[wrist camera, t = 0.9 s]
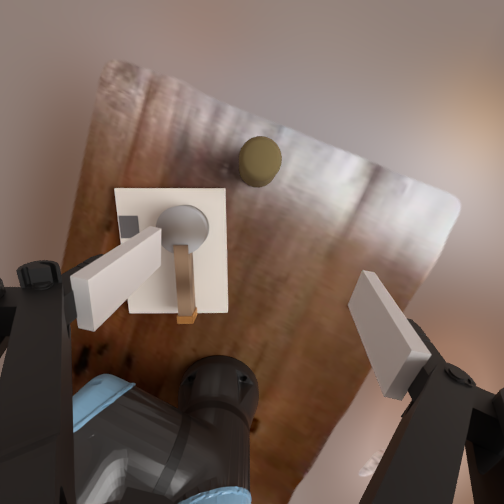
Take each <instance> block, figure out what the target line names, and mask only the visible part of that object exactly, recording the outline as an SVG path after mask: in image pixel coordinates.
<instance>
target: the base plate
mask: <svg viewBox="0 0 504 504" xmlns="http://www.w3.org/2000/svg"><path fill="white" fill-rule="evenodd" d="M114 191H115V200H116V208H117V216H118V224H119V232H120V241H121V244H122V243H124V242H125V241H127V240H129V239H130V238H132V237H133V236H135V235H137V234H138V233H140V232H141V231H143V230H145V229H146V228H148V227H149V226H152V227H156V222H157V220H158V218H159V216H160V215H161V213H162V212H164V211H165V210H166V209H168V208H171V207H174V206H180V205H191V206H194V207H196V208H198V209H200V210H201V211H202V212H203V213H204V214H205V216H206V217H207V219H208V222H209V234H208V237H207V239H206V240H205V242H204V243H203V244H202V245H201V246H200V247H199V248H198V249H197V250H196V251H194V252H193V268H194V286H195V304H196V307H197V313H228V279H227V235H226V191H225V188H114ZM128 306H129V313H178V304H177V290H176V277H175V263H174V253H171V252H169V251H168V250H166V249H165V248H164V247H163V246H162V245H161V266H160V267H159V268H158V269H157V270H156V271H155V272H154V273H153V274H152V275H151V276H150V277H149V278H148V279H147V280H146V281H145V282H144V283H143V284H142V285H141V286H140V287H139V288H138V289H137V290H136V291H135V292H134V293H133V294H132V295H131V296H130V297H129V298H128Z"/></svg>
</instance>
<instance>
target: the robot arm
mask: <svg viewBox="0 0 504 504" xmlns="http://www.w3.org/2000/svg"><path fill="white" fill-rule="evenodd" d="M160 266H161V228H157V227H152V226H149V227H148V228H146V229H145V230H143V231H141V232H140V233H138V234H137V235H135V236H133V237H132V238H130V239H129V240H127V241H125V242H124V243H122V244H121V245H119V246H117V247H116V248H114V249H113V250H111V251H109V252H108V253H106V254H105V255H103V254H100V255H97V256H93V257H90V258H89V259H87V260H85V261H84V262H83V263H80V264H79V265H77V266H76V267H74V268H72V269H70V270H69V271H67V272H65V273H63V274H62V275H61V272H60V267H59V264H58V263H56V262H54V261H48V260H46V261H45V260H43V261H34V262H30V263H27V264H24V265H22V266H20V267H19V268H18V269H17V275H18V279H19V282H20V286H21V287H4V285H3V281H2V280H1V279H0V358H1V356H2V354H3V353H4V351H5V350H6V348H7V352H6V356H5V360H4V364H3V368H2V373H1V377H0V504H251V495H250V438H249V428H250V426H251V423H252V420H253V417H254V414H255V412H256V409H257V406H258V400H259V391H258V382H257V379H256V377H255V375H254V373H253V372H252V370H251V369H250V368H249V367H248V366H247V365H245V364H244V363H242V362H241V361H239V360H237V359H234V358H231V357H227V356H211V357H206V358H203V359H201V360H199V361H197V362H195V363H194V364H193V365H191V366H190V367H189V368H188V370H187V371H186V372H185V374H184V376H183V378H182V381H181V384H180V387H179V391H178V409H177V408H176V407H174V406H172V405H170V404H168V403H166V402H164V401H163V400H161V399H159V398H157V397H155V396H153V395H151V394H149V393H148V392H146V391H144V390H142V389H140V388H138V387H136V386H135V385H136V384H135V383H129V382H127V381H125V380H123V379H121V378H118V377H116V376H114V375H112V374H102V375H99V376H97V377H95V378H93V379H92V380H91V381H89V382H88V383H87V384H86V385H85V386H83V387H82V388H81V389H80V390H79V391H78V392H77V393H76V394H75V395H74V396H73V397H72V359H71V328H70V323H71V322H72V321H73V320H75V319H76V318H77V323H78V328H81V329H85V330H90V331H95V330H96V329H97V328H98V327H99V326H100V325H101V324H102V323H103V322H104V321H105V320H106V319H107V318H108V317H110V316H111V315H112V314H113V313H114V312H115V311H116V310H117V309H118V308H119V307H120V306H121V305H122V304H123V303H124V302H125V301H126V300H127V299H128V298H129V297H130V296H131V295H132V294H133V293H134V292H135V291H136V290H137V289H138V288H139V287H140V286H141V285H142V284H143V283H144V282H145V281H146V280H147V279H148V278H149V277H150V276H151V275H152V274H153V273H154V272H155V271H156V270H157V269H158V268H159V267H160ZM348 307H349V309H350V312H351V314H352V317H353V319H354V322H355V324H356V327H357V330H358V332H359V335H360V337H361V340H362V342H363V345H364V347H365V350H366V353H367V355H368V358H369V360H370V363H371V365H372V368H373V370H374V373H375V375H376V378H377V381H378V383H379V386H380V388H381V391H382V393H383V396H384V397H388V398H392V399H397V400H402V399H403V398H404V396H405V394H406V393H407V391H408V392H409V394H410V396H411V398H412V401H411V402H410V404H409V406H408V407H407V408H406V410H405V411H404V413H403V414H402V416H401V417H402V419H401V422H400V423H399V425H398V427H397V429H396V431H395V433H394V435H393V437H392V439H391V441H390V443H389V445H388V447H387V449H386V451H385V453H384V455H383V457H382V459H381V461H380V463H379V465H378V467H377V469H376V470H375V472H374V474H373V476H372V479H371V480H370V482H369V484H368V486H367V488H366V490H365V492H364V494H363V496H362V498H361V500H360V502H359V504H452V503H453V498H454V494H455V489H456V484H457V479H458V475H459V470H460V465H461V460H462V456H463V451H464V446H465V449H466V455H467V461H468V467H469V474H470V480H471V486H472V492H473V499H474V504H504V388H503V389H501V390H500V391H499V392H498V393H497V394H496V395H495V394H493V393H490V392H488V391H485V390H483V389H481V388H479V387H476V384H475V382H474V381H473V379H472V378H471V377H470V376H469V375H468V374H467V373H466V372H464V371H462V370H461V369H460V368H458V367H456V366H454V365H452V364H450V363H446V361H445V360H444V359H443V357H442V356H441V355H440V353H439V352H438V351H437V349H436V348H435V346H434V345H433V344H432V343H431V342H430V340H429V338H428V337H427V336H426V334H425V333H424V332H423V330H422V329H421V327H419V326H418V325H417V324H416V323H415V322H414V321H413V320H411V319H407V318H406V317H405V316H404V314H403V313H402V311H401V310H400V308H399V307H398V306H397V304H396V303H395V301H394V300H393V298H392V297H391V295H390V294H389V293H388V291H387V290H386V288H385V287H384V285H383V284H382V283H381V281H380V280H379V278H378V277H377V275H376V274H375V272H370V271H365V270H362V272H361V275H360V277H359V279H358V282H357V284H356V287H355V289H354V292H353V294H352V296H351V299H350V301H349V304H348Z"/></svg>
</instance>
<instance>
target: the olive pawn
mask: <svg viewBox="0 0 504 504" xmlns="http://www.w3.org/2000/svg"><path fill="white" fill-rule="evenodd" d="M281 161H282V156H281V151H280V149H279V147H278V145H277V144H276V143H275V142H274V141H273V140H272V139H269V138H267V137H262V136H257V137H254V138H251V139H250V140H248V141H247V142H246V143H245V144H244V145H243V147H242V148H241V151H240V154H239V173H240V176H241V178H242V179H243V181H244V182H245V183H247V184H248V185H250V186H253V187H262V186H266V185H267V184H269V183H270V182H271V181H272V180H273V178H274V177H275V175H276V174H277V172H278V171H279V169H280V166H281Z"/></svg>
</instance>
